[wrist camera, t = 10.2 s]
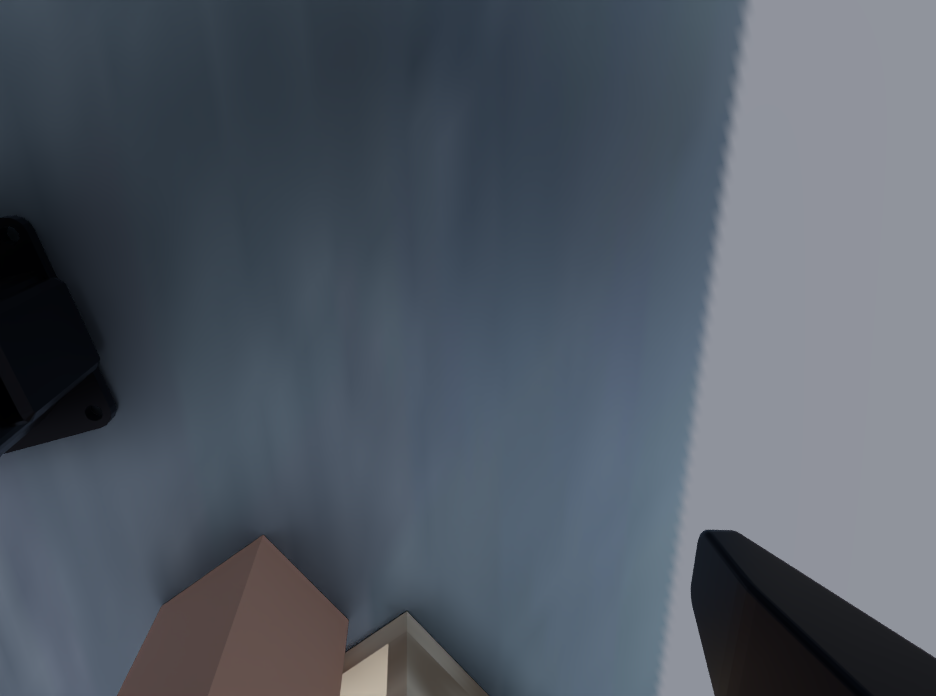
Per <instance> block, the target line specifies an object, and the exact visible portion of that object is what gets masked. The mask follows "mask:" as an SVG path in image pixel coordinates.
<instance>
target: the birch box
mask: <svg viewBox="0 0 936 696" xmlns="http://www.w3.org/2000/svg"><path fill="white" fill-rule="evenodd" d="M340 696H489V695H488V694H487V693H486V692H485V691H484V690H483V689H482V688H481V687H480V686H479V685H478V684H477V683H476V682H475V681H474V680H473V679H472V678H471V677H470V676H469V675H468V674H467V673H466V672H465V671H464V670H463V669H462V668H461V666H460V665H459V664H458V663H457V662H456V661H455V660H454V659H453V658H452V657H451V656H450V655H449V654H448V653H447V652H446V651H445V650H444V649H443V648H442V647H441V646H440V645H439V644H438V643H437V642H436V641H435V640H434V639H433V638H432V637H431V636H430V635H429V633H428V632H427V631H426V630H425V629H424V628H423V627H422V626H421V625H420V624H419V623H418V622H417V621H416V620H415V619H414V618H413V617H412V616H411V615H410V614H409V613H408V612H405V613H404V614H402V615H401V616H399V617H398V618H396V619H395V620H393V621H392V622H390V623H389V624H387V625H386V626H384V627H383V628H381V629H380V630H378V631H377V632H375V633H374V634H372V635H371V636H370V637H368V638H367V639H365V640H364V641H362V642H361V643H359V644H358V645H356V646H355V647H353V648H352V649H350V650H349V651H347V652H346V653H345V656H344V665H343V673H342V682H341V690H340Z"/></svg>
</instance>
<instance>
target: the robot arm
mask: <svg viewBox="0 0 936 696" xmlns="http://www.w3.org/2000/svg"><path fill="white" fill-rule="evenodd" d="M9 226H10V227H12V228H14V229H15V230H16V231H17V232H18V234H19V240H18V242H15V241H13V240H11V239H10V238H9V236H8V234H7V230H8V227H9ZM99 361H100V357H99V355H98V353H97V351H96V349H95V346H94V344H93V342H92V340H91V338H90V336H89V333H88V331H87V329H86V327H85V325H84V322H83V320H82V318H81V316H80V314H79V312H78V309H77V307H76V305H75V303H74V301H73V299H72V296H71V294H70V292H69V290H68V288H67V286H66V284H65V283H64V282H62V281H61V280H59V279H57V277H56V275H55V273H54V270H53V268H52V266H51V264H50V262H49V260H48V257H47V255H46V253H45V251H44V249H43V247H42V244H41V242H40V240H39V238H38V236H37V234H36V232H35V229H34V228H33V226H32V225H31V223H30V222H29V221H27V220H26V219H25V218H23V217H20V216H16V215H14V216H6V217H2V218H0V456H1V455H2V454H5V453H9V452H12V451H16V450H20V449H23V448H27V447H31V446H35V445H38V444H42V443H46V442H50V441H53V440H57V439H61V438H64V437H68V436H72V435H76V434H79V433H83V432H87V431H91V430H94V429H98V428H101V427H103V426H105V425H107V424H108V423H109V422H110V421H111V420H112V418H113V417H114V416H115V414H116V410H117V409H116V405H115V402H114V400H113V398H112V396H111V393H110V391H109V389H108V387H107V385H106V383H105V380H104V378H103V376H102V374H101V372H100V370H99V368H98V363H99ZM91 405H95V406H97V407H99V408H100V409H101V410H102V413H103V415H96V414H94V413H93V412H92V410H91ZM691 600H692V606H693V610H694V614H695V618H696V622H697V626H698V631H699V635H700V639H701V642H702V647H703V650H704V655H705V659H706V662H707V667H708V671H709V675H710V678H711V683H712V687H713V690H714V695H715V696H936V658H934V657H933V656H932V655H930V654H928V653H927V652H925V651H924V650H922V649H921V648H919V647H917V646H916V645H914V644H913V643H911V642H910V641H908V640H906V639H905V638H903V637H902V636H900V635H898V634H897V633H895V632H894V631H892V630H891V629H889V628H888V627H886V626H884V625H883V624H881V623H880V622H878V621H877V620H875V619H873V618H872V617H870V616H868V615H867V614H866V613H864V612H863V611H861V610H859V609H858V608H856V607H854V606H853V605H851V604H849V603H848V602H847V601H845V600H844V599H842V598H840V597H839V596H837V595H836V594H834V593H833V592H831V591H829V590H828V589H826V588H825V587H823V586H822V585H820V584H818V583H817V582H815V581H814V580H812V579H811V578H809V577H807V576H806V575H804V574H803V573H801V572H800V571H798V570H797V569H795V568H793V567H792V566H790V565H789V564H787V563H786V562H784V561H782V560H781V559H779V558H778V557H776V556H774V555H773V554H771V553H770V552H768V551H767V550H765V549H763V548H762V547H760V546H759V545H757V544H756V543H754V542H753V541H751V540H749V539H747V538H746V537H745V536H743V535H742V534H740V533H738V532H736V531H732V530H705V531H703V532H702V533H701V534H700V537H699V539H698V543H697V550H696V556H695V563H694V569H693V576H692V582H691Z"/></svg>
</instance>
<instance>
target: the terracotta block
mask: <svg viewBox="0 0 936 696" xmlns="http://www.w3.org/2000/svg"><path fill="white" fill-rule="evenodd" d="M348 622H349V620H348V619H347V618H346V617H345V616H344V615H343V614H342V613H341V612H340V611H339V610H338V609H337V608H336V607H335V606H334V605H333V604H332V603H331V602H330V601H329V600H328V599H327V598H326V597H325V596H324V595H323V594H322V593H321V592H320V591H319V590H318V589H317V588H316V587H315V586H314V585H313V584H312V583H311V582H310V581H309V580H308V579H307V578H306V577H305V576H304V575H303V574H302V573H301V572H300V571H299V570H298V569H297V568H296V567H295V566H294V565H293V564H292V563H291V562H290V561H289V560H288V559H287V558H286V557H285V556H284V555H283V554H282V553H281V552H280V551H279V550H278V549H277V548H276V547H275V546H274V545H273V544H272V543H271V542H270V541H269V540H268V539H267V538H266V537H265V536H264V535H262V536H261V537H259V538H258V539H256V540H255V541H253V542H252V543H251V544H249V545H248V546H246V547H245V548H244V549H242V550H241V551H239V552H238V553H236V554H235V555H234V556H232V557H231V558H229V559H228V560H226V561H225V562H224V563H222V564H221V565H219V566H218V567H216V568H215V569H214V570H212V571H211V572H209V573H208V574H207V575H205V576H204V577H202V578H201V579H199V580H198V581H197V582H195V583H194V584H192V585H191V586H189V587H188V588H187V589H185V590H184V591H182V592H181V593H179V594H178V595H177V596H175V597H174V598H172V599H171V600H170V601H168V602H167V603H165V604H164V605H162V606H161V608H160V610H159V612H158V614H157V616H156V618H155V620H154V623H153V625H152V627H151V629H150V631H149V633H148V635H147V637H146V639H145V641H144V643H143V645H142V647H141V649H140V651H139V653H138V655H137V657H136V659H135V661H134V663H133V665H132V667H131V669H130V671H129V673H128V675H127V677H126V679H125V681H124V683H123V685H122V687H121V689H120V691H119V693H118V695H117V696H340V690H341V682H342V673H343V665H344V656H345V648H346V639H347V631H348Z"/></svg>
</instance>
